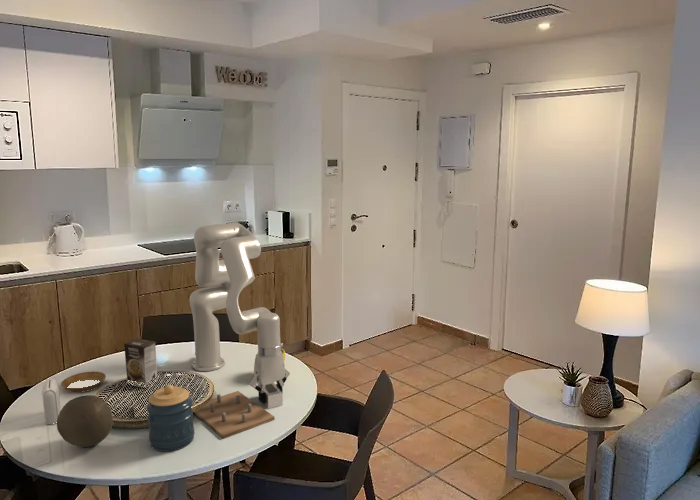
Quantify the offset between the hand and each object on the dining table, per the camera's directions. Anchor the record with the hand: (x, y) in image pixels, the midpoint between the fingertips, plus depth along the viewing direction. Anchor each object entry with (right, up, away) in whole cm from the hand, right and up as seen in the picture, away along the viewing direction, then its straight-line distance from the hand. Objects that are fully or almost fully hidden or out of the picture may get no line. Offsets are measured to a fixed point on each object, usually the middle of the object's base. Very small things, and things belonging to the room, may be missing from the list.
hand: (270, 398), depth 185 cm
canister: (-26, -6, -25) cm, 36 cm away
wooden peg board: (-12, -2, -9) cm, 15 cm away
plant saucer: (-70, +1, +12) cm, 71 cm away
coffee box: (-49, +2, +13) cm, 51 cm away
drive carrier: (0, -1, 0) cm, 1 cm away
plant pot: (-3, +3, +20) cm, 20 cm away
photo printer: (-69, -3, -11) cm, 69 cm away
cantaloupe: (-49, -6, -28) cm, 57 cm away
